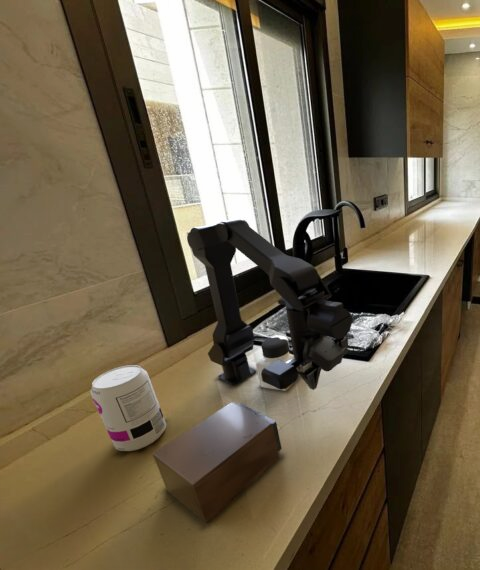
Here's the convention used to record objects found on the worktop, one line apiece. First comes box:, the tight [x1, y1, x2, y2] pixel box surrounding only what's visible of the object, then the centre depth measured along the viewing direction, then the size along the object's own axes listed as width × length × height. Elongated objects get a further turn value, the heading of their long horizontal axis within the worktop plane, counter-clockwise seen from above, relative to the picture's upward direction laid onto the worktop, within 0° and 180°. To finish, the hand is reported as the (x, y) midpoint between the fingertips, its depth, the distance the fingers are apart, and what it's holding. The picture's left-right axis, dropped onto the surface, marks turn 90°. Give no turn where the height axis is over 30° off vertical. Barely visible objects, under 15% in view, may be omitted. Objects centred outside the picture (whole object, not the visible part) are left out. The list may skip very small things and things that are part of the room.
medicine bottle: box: [255, 335, 301, 392], centre depth 81 cm, size 7×7×12 cm
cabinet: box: [151, 401, 280, 524], centre depth 57 cm, size 14×12×9 cm
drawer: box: [237, 402, 282, 452], centre depth 59 cm, size 14×10×7 cm
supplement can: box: [90, 364, 167, 452], centre depth 64 cm, size 8×8×15 cm
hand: (313, 388), depth 72 cm, fingers closed
